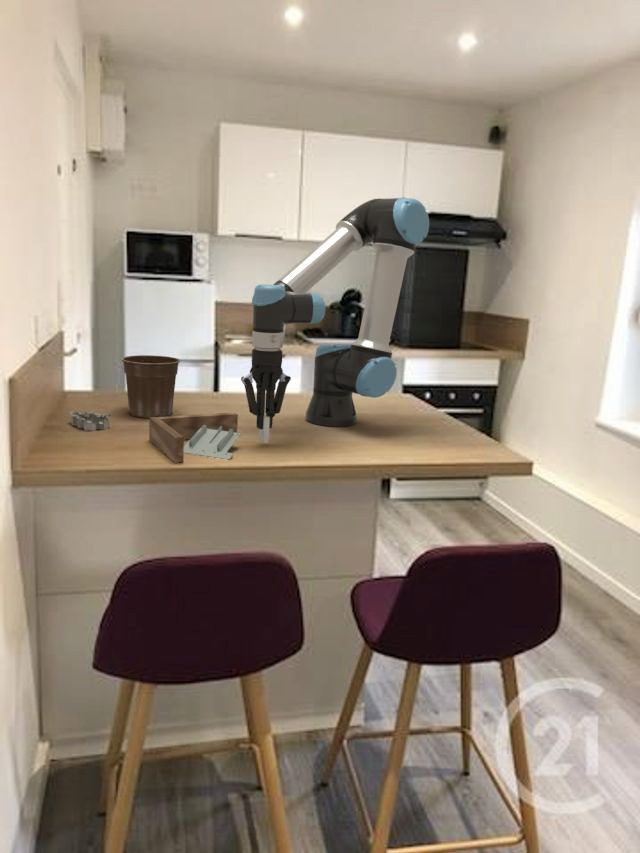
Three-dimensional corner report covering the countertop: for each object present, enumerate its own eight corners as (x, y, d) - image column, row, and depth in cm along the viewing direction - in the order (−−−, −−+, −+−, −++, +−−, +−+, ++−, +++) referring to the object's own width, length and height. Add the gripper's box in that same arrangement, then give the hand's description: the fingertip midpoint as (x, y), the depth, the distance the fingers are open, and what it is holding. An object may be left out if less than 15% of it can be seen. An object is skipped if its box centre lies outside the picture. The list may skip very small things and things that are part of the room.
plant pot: (131, 405, 208) (131, 352, 204) (184, 409, 208) (185, 356, 204) (114, 418, 192) (113, 361, 188) (171, 422, 192) (172, 365, 188)
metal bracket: (194, 419, 175) (249, 426, 171) (196, 438, 177) (250, 446, 174) (167, 447, 163) (225, 456, 159) (170, 468, 166) (228, 477, 162)
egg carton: (112, 429, 181) (112, 414, 180) (85, 433, 176) (85, 417, 175) (94, 420, 189) (94, 406, 188) (67, 423, 184) (67, 409, 183)
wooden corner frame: (234, 434, 184) (234, 412, 182) (266, 454, 168) (267, 430, 166) (149, 440, 172) (149, 417, 171) (174, 463, 156) (175, 437, 154)
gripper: (249, 351, 163) (246, 447, 169) (297, 350, 169) (293, 442, 175) (236, 346, 169) (234, 439, 175) (283, 345, 176) (279, 435, 181)
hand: (263, 440), depth 175 cm, fingers closed
